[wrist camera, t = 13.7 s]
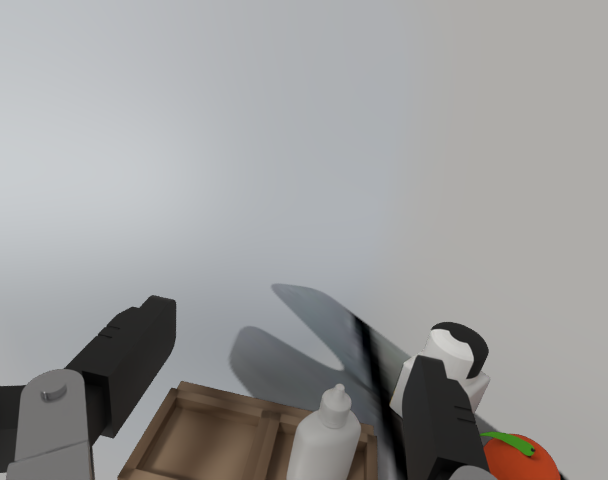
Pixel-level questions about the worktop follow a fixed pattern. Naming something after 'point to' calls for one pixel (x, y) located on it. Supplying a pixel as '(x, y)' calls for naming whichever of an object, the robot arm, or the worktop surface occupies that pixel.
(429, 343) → the medicine bottle
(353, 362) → the worktop surface
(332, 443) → the eye dropper bottle
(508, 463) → the clementine
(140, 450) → the wooden compartment tray
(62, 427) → the robot arm
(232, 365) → the worktop surface
